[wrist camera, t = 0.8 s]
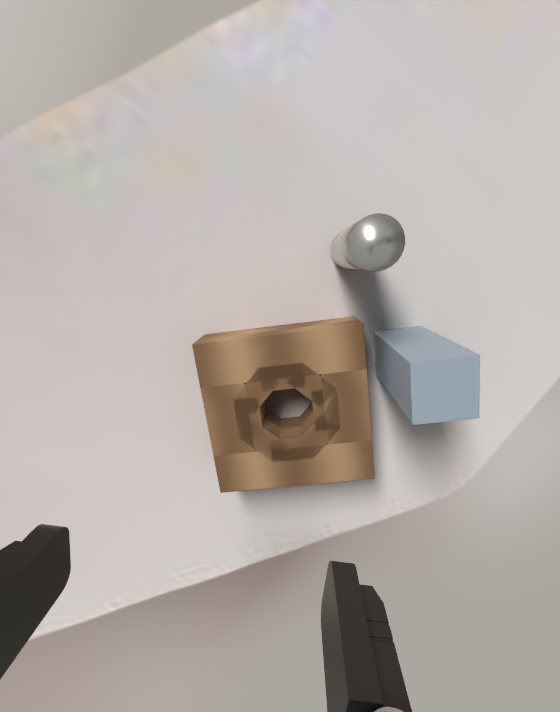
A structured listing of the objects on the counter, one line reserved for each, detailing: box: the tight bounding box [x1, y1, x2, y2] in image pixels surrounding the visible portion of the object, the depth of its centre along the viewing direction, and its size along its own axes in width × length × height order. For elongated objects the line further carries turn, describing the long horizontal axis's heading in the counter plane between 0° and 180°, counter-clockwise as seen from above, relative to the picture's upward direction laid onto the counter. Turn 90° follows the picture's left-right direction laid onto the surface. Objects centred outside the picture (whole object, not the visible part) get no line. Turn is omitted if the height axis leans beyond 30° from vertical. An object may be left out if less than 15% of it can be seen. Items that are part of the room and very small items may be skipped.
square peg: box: [373, 326, 480, 425], centre depth 26 cm, size 4×4×10 cm
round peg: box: [331, 213, 405, 271], centre depth 24 cm, size 3×3×10 cm
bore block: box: [192, 317, 374, 493], centre depth 31 cm, size 13×13×4 cm
